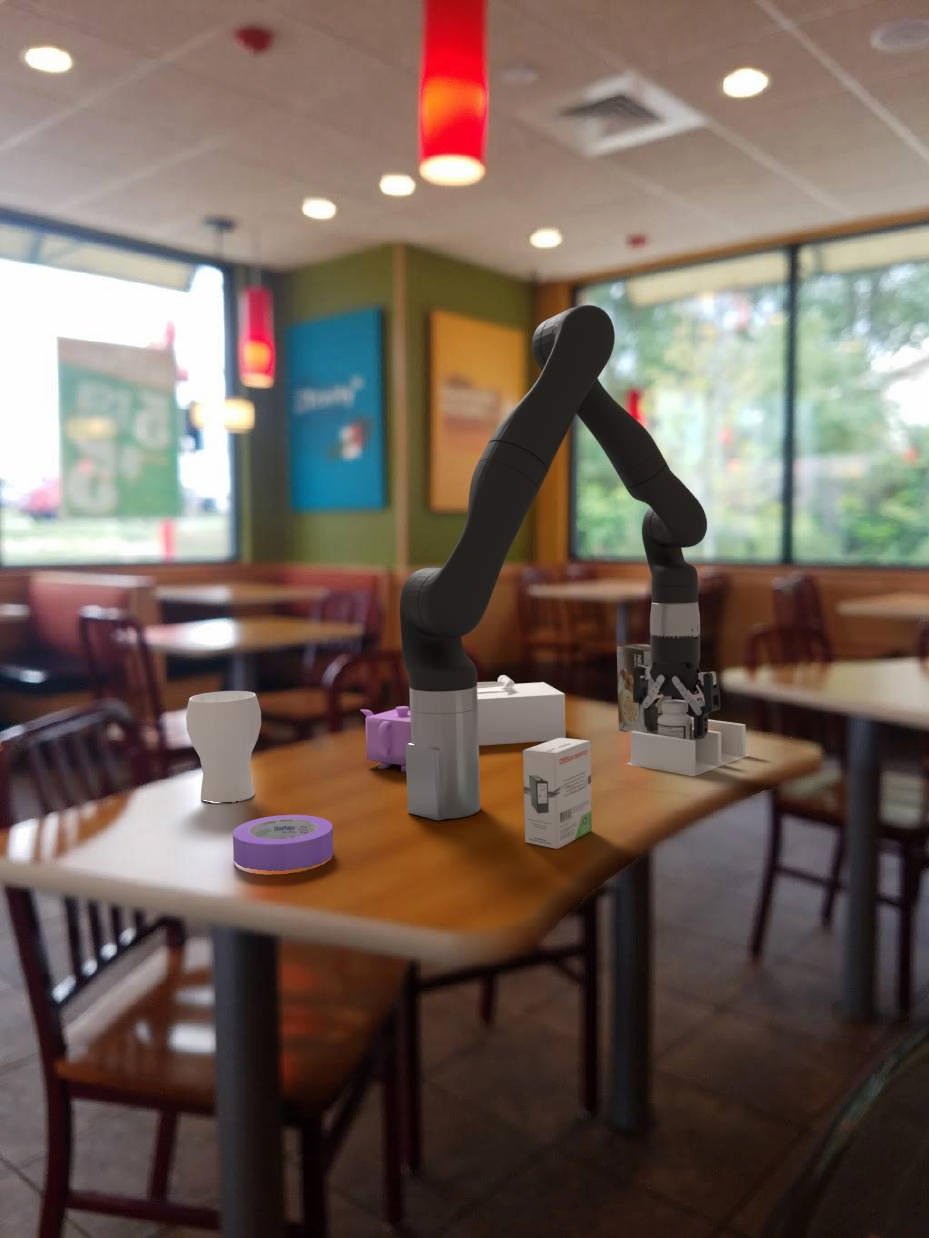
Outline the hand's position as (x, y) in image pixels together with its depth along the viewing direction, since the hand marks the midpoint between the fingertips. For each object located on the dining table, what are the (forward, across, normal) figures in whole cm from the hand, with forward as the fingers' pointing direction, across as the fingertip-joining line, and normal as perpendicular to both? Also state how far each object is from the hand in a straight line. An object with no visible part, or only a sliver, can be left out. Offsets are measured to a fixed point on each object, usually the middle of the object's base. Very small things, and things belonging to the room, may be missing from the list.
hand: (675, 734), depth 150 cm
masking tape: (+6, -13, -64) cm, 66 cm away
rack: (+6, 0, +4) cm, 7 cm away
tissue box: (+6, -40, 0) cm, 41 cm away
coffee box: (+6, -20, +21) cm, 29 cm away
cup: (+6, -42, -54) cm, 69 cm away
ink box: (+6, +7, -37) cm, 38 cm away
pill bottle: (+5, 0, 0) cm, 5 cm away
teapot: (+6, -36, -24) cm, 44 cm away
